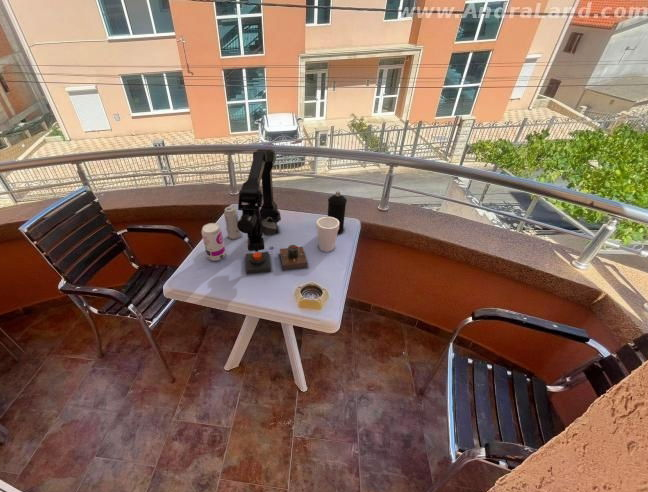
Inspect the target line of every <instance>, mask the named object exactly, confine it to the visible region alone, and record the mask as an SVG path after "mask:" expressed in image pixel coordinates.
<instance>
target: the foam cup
mask: <svg viewBox="0 0 648 492" xmlns="http://www.w3.org/2000/svg"><path fill="white" fill-rule="evenodd" d="M316 230H317V237H318V238H317V240H318V247H319V250H320V251H322V252H325V253H326V252H327V253H329V252H332V251H333V250H334V248H335V245H336V240H337V236H338V234H337V233H338V230H339V221H338V219H336V218H334V217H328V216H323V217H320V218H318V219H317V220H316Z"/></svg>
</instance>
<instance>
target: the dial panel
mask: <svg viewBox="0 0 648 492" xmlns="http://www.w3.org/2000/svg"><path fill="white" fill-rule="evenodd" d="M279 255H280V261H281V266H282V271H290V270H297V269H298V270H300V269H307V268H308V260H307V257H306V253H305V250H304V247H303V246H298V256H297V257H296V258H290V257H289V256H288V247H285V248H279Z"/></svg>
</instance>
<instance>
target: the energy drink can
mask: <svg viewBox="0 0 648 492" xmlns="http://www.w3.org/2000/svg"><path fill="white" fill-rule="evenodd" d="M223 216H224V221H225V226H226V232H227V233H226V234H227V237H228V238H229V239H231V240H238V239H239V238H240V236H241V233H242V232H241V231H240V230H239V229H238V227H237V224H238V221H239V214H238V209H236V207H235V206H232V205H230V206H229V205H228V206H226V207H225V208H224V212H223Z"/></svg>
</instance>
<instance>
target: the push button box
mask: <svg viewBox="0 0 648 492" xmlns="http://www.w3.org/2000/svg"><path fill="white" fill-rule="evenodd" d="M259 252H260V251H259ZM254 253H255V252H251V253H245V269H246V275H251V274H260V273H261V274H262V273H271V272H272V267H271V259H270V252H269V251H261V252H260V253H261V255H262V258H261V260H254V259H253V254H254Z"/></svg>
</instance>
